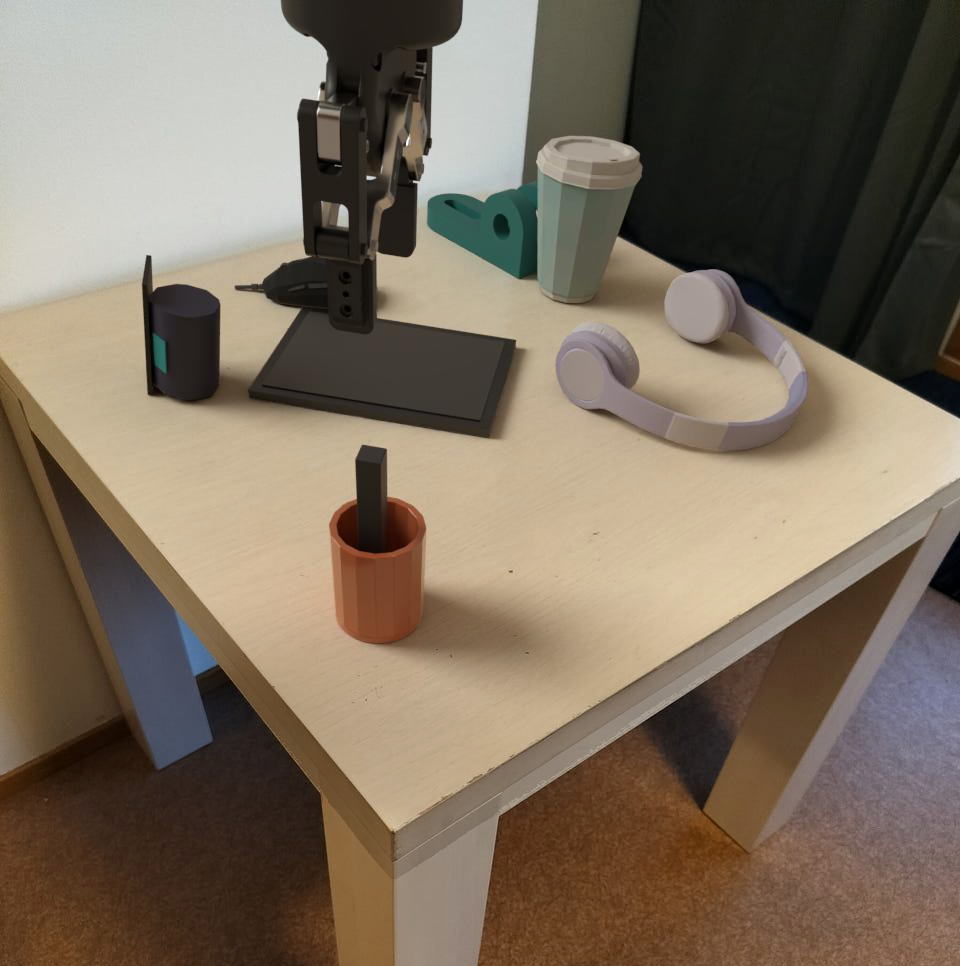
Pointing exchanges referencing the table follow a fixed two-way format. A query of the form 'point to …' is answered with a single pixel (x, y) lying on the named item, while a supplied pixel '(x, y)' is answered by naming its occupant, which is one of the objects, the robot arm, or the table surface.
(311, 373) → the tablet
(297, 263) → the gaming mouse
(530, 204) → the bracket
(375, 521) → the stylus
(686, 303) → the headphones
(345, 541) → the pen cup
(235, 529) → the table surface
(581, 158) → the disposable coffee cup
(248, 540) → the table surface
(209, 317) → the speaker
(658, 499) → the table surface
